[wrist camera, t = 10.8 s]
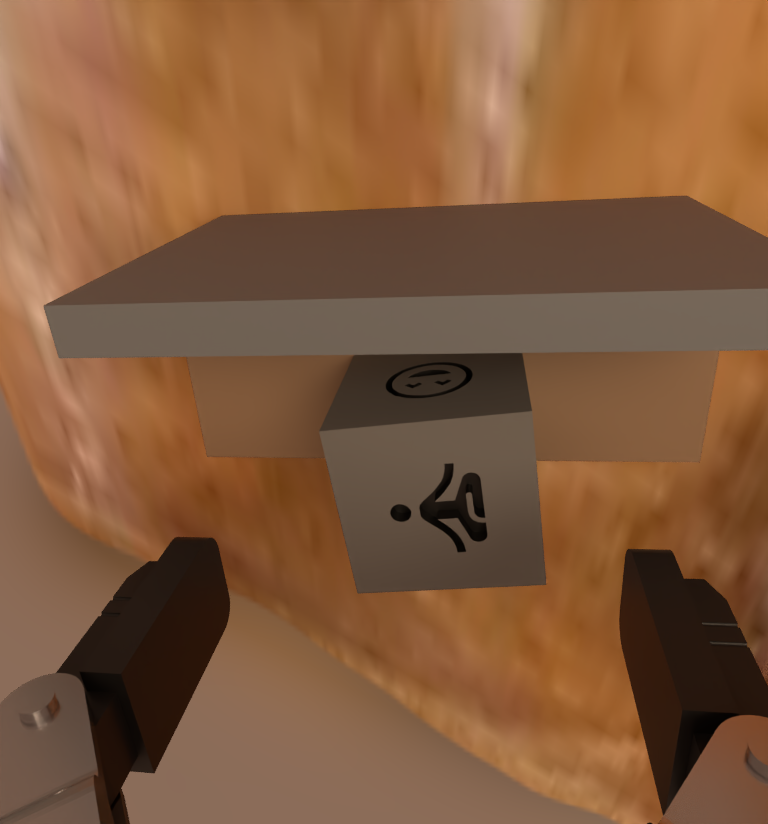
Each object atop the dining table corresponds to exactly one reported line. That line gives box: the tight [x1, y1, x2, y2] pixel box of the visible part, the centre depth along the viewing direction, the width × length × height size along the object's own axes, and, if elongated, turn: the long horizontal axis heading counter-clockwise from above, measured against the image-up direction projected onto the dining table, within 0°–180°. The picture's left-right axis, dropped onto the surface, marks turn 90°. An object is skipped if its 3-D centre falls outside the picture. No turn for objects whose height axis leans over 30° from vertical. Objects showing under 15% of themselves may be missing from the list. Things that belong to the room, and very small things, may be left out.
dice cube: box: [319, 353, 546, 593], centre depth 18 cm, size 5×5×5 cm
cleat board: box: [44, 196, 768, 462], centre depth 19 cm, size 16×7×11 cm, turn 94°
